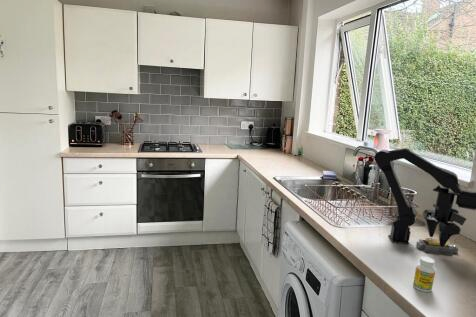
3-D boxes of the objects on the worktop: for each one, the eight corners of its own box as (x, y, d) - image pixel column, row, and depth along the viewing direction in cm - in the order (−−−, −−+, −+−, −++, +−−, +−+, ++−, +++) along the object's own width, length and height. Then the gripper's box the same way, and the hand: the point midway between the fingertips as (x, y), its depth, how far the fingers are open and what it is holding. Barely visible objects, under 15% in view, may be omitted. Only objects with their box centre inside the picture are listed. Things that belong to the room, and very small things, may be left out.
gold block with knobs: (427, 251, 142) (429, 240, 141) (423, 247, 146) (425, 236, 145) (445, 253, 142) (447, 242, 141) (441, 249, 145) (443, 238, 144)
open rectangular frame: (420, 251, 141) (422, 245, 140) (414, 244, 147) (415, 238, 147) (459, 255, 140) (460, 249, 140) (451, 248, 146) (452, 242, 146)
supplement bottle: (428, 284, 116) (433, 257, 114) (434, 293, 110) (440, 265, 109) (410, 281, 116) (415, 254, 114) (415, 290, 111) (421, 262, 109)
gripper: (479, 214, 130) (470, 254, 133) (453, 199, 148) (445, 234, 152) (447, 211, 131) (439, 251, 134) (425, 196, 149) (418, 231, 152)
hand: (436, 241), depth 143 cm, fingers open, 9 cm apart
